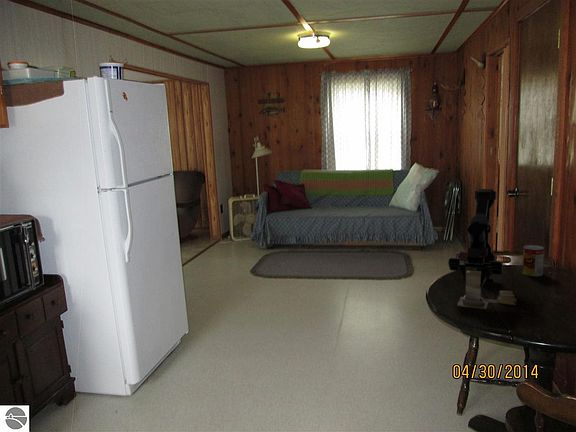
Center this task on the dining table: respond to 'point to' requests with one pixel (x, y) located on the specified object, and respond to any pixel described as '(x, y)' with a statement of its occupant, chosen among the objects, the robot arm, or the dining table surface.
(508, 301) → the lower offcut
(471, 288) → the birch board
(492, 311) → the dining table surface
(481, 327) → the dining table surface
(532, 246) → the canned food
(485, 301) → the rack
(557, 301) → the dining table surface
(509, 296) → the upper offcut
